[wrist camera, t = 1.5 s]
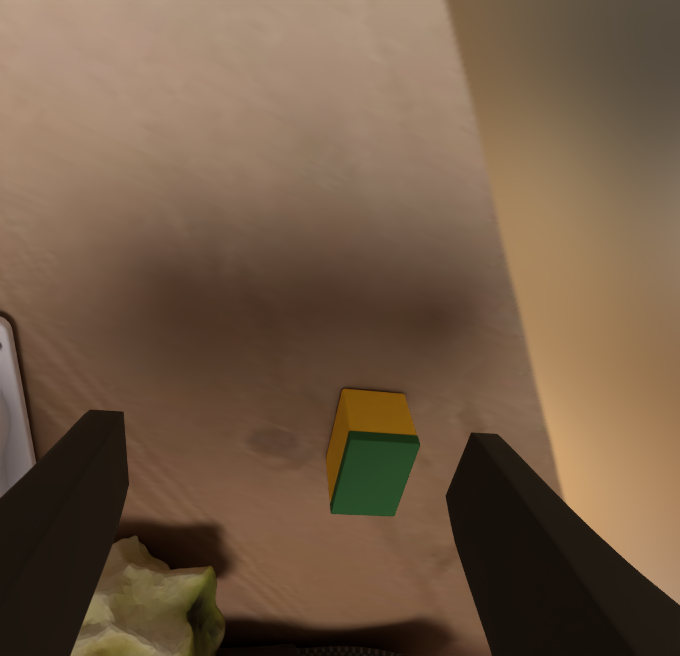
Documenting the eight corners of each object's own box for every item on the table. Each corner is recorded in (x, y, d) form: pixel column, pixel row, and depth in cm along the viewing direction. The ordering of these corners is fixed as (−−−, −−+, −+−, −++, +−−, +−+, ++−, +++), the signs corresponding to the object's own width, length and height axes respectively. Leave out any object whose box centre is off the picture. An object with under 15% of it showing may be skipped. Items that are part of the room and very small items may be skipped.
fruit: (63, 756, 24) (-56, 639, 22) (216, 592, 29) (128, 486, 27) (88, 915, 16) (-90, 753, 14) (291, 654, 21) (174, 511, 19)
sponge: (382, 462, 22) (394, 517, 20) (325, 458, 22) (330, 514, 20) (404, 392, 20) (421, 444, 18) (342, 387, 20) (350, 439, 18)
